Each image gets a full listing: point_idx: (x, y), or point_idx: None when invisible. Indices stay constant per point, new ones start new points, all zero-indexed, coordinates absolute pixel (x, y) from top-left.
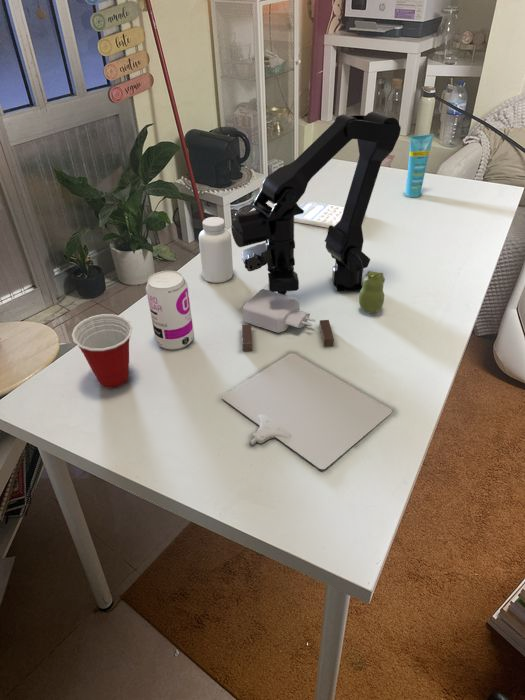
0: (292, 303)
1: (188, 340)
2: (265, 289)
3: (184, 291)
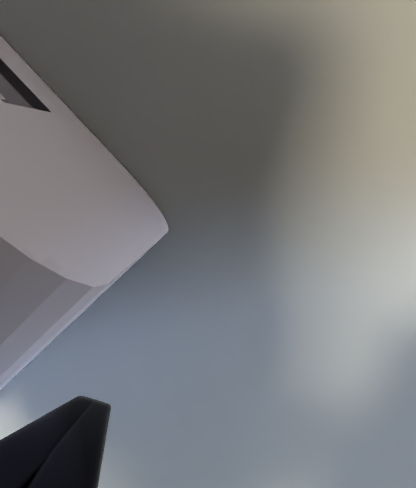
0: None
1: None
2: (17, 303)
3: None
